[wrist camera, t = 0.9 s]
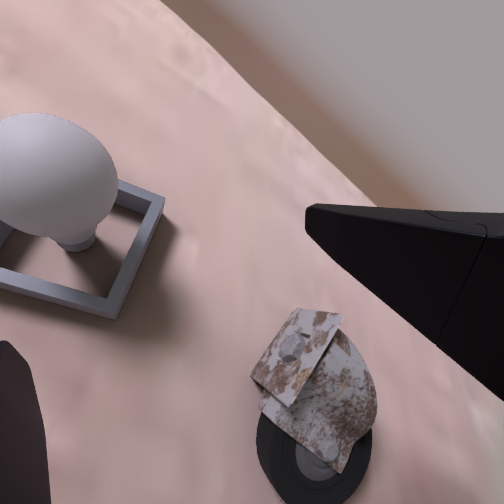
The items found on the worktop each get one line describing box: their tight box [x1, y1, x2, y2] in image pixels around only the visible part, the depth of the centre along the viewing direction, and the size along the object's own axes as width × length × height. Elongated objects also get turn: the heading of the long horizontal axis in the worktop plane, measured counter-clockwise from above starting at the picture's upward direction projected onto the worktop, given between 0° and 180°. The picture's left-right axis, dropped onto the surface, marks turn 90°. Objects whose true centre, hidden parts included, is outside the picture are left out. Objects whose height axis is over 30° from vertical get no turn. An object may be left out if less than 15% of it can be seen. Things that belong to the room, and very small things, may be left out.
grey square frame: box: [0, 179, 165, 320], centre depth 21 cm, size 10×10×2 cm
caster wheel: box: [250, 308, 377, 504], centre depth 21 cm, size 7×11×10 cm
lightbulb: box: [0, 113, 118, 252], centre depth 17 cm, size 6×6×11 cm
